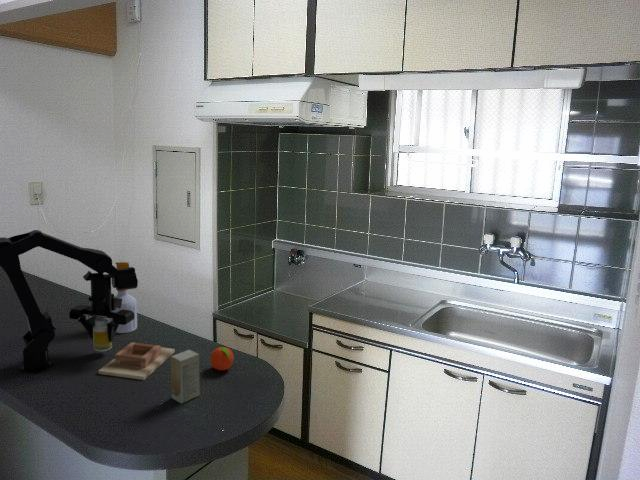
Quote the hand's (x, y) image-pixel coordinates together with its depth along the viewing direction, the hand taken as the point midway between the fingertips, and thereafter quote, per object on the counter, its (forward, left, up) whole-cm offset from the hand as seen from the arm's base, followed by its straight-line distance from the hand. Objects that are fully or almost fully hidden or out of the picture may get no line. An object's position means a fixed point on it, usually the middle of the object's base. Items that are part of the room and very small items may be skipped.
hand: (102, 340), depth 162 cm
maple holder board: (-2, -13, -5) cm, 14 cm away
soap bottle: (+21, +5, -5) cm, 22 cm away
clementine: (0, -39, -5) cm, 39 cm away
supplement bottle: (0, 0, -3) cm, 3 cm away
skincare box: (-18, -35, -5) cm, 40 cm away
